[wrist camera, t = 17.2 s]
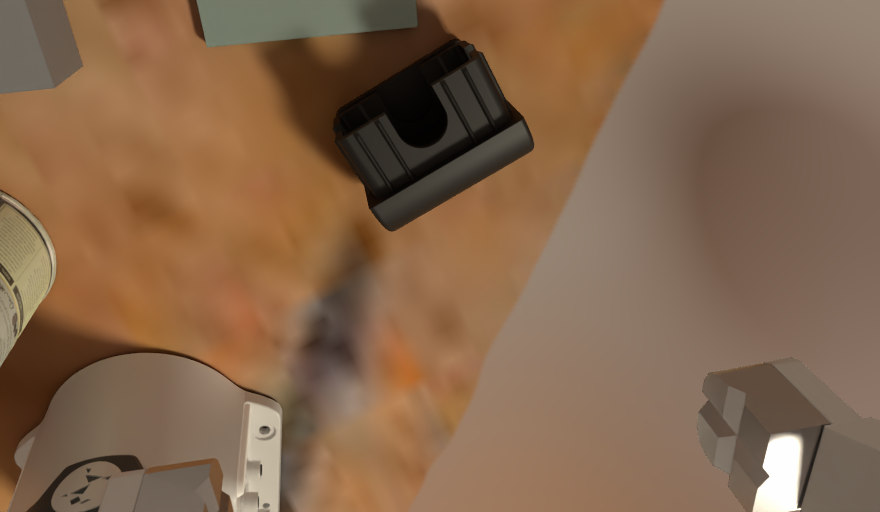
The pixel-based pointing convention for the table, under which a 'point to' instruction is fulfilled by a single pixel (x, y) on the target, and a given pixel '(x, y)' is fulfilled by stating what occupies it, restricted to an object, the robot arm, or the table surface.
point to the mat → (299, 18)
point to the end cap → (430, 133)
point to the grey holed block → (35, 45)
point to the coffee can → (21, 269)
